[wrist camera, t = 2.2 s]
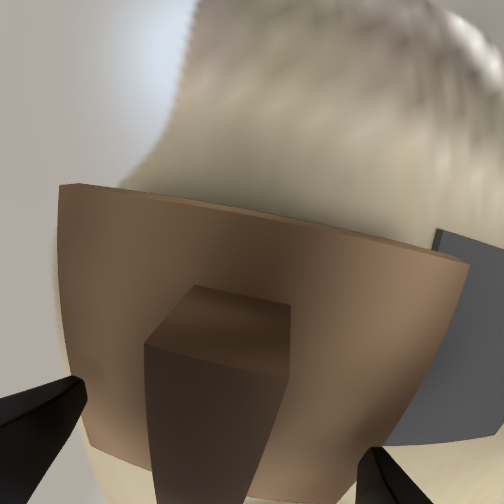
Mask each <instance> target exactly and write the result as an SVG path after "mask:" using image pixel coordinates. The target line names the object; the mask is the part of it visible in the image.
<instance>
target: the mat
mask: <svg viewBox="0 0 504 504" xmlns="http://www.w3.org/2000/svg"><path fill="white" fill-rule="evenodd" d="M432 250H433V251H437V252H441V253H444V254H448V255H452V256H455V257H457V258H458V259H460V260H462V261H464V262H465V263H467V264H469V265H470V267H469V270H468V273H467V277H466V280H465V283H464V286H463V289H462V292H461V294H460V297H459V300H458V303H457V305H456V308H455V311H454V313H453V316H452V318H451V321H450V323H449V326H448V328H447V331H446V333H445V335H444V338H443V340H442V342H441V344H440V346H439V349H438V351H437V353H436V355H435V357H434V359H433V361H432V363H431V365H430V367H429V369H428V371H427V373H426V375H425V377H424V379H423V381H422V383H421V385H420V386H419V388H418V390H417V392H416V394H415V395H414V397H413V399H412V401H411V402H410V404H409V406H408V407H407V409H406V411H405V412H404V414H403V416H402V417H401V419H400V420H399V422H398V424H397V425H396V427H395V428H394V430H393V431H392V433H391V434H390V436H389V437H388V439H387V440H386V442H385V443H384V445H383V446H404V445H423V444H436V443H446V442H454V441H462V440H469V439H475V438H481V437H487V436H492V435H495V434H496V432H497V431H498V430H499V428H500V427H501V426H502V424H503V423H504V250H502V249H499V248H497V247H494V246H491V245H488V244H485V243H482V242H479V241H476V240H473V239H470V238H466V237H463V236H460V235H457V234H454V233H450V232H447V231H444V230H440V229H437V232H436V236H435V240H434V243H433V247H432Z"/></svg>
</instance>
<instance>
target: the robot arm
mask: <svg viewBox="0 0 504 504" xmlns="http://www.w3.org/2000/svg"><path fill="white" fill-rule="evenodd" d="M87 401H88V395H87V391H86V386H85V382H84V380H83V379H81V378H79V377H77V376H75V375H71V376H68V377H65V378H63V379H59V380H57V381H54V382H50V383H47V384H44V385H41V386H38V387H36V388H32V389H29V390H26V391H23V392H20V393H16V394H13V395H10V396H6V397H3V398H0V504H27V502H28V501H29V499H30V497H31V496H32V494H33V492H34V491H35V489H36V488H37V486H38V484H39V483H40V481H41V480H42V478H43V476H44V475H45V473H46V471H47V470H48V469H49V467H50V466H51V464H52V462H53V461H54V460H55V458H56V456H57V455H58V453H59V452H60V450H61V449H62V447H63V446H64V444H65V443H66V441H67V439H68V438H69V437H70V435H71V433H72V431H73V429H74V427H75V425H76V423H77V421H78V419H79V417H80V415H81V413H82V412H83V410H84V408H85V406H86V404H87ZM355 504H433V503H432V502H431V500H430V499H429V498H428V497H427V496H426V495H425V494H424V493H423V492H422V491H421V490H420V488H419V487H418V486H417V485H416V484H415V483H414V482H413V481H412V480H411V478H410V477H409V476H408V475H407V474H406V473H405V472H404V471H403V470H402V468H401V467H400V466H399V465H398V464H397V463H396V462H395V461H394V459H393V458H392V457H391V456H390V455H389V454H388V453H387V451H386V450H385V449H384V448H383V447H370V448H368V449H367V451H366V452H365V454H364V455H363V457H362V458H361V459H360V461H359V463H358V466H357V485H356V500H355Z"/></svg>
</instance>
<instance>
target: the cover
mask: <svg viewBox="0 0 504 504" xmlns="http://www.w3.org/2000/svg"><path fill="white" fill-rule="evenodd" d="M57 252H58V278H59V292H60V304H61V313H62V322H63V329H64V336H65V343H66V349H67V355H68V360H69V366H70V371H71V375H75V376H77V377H79V378H81V379H83V380H84V382H85V386H86V391H87V395H88V401H87V404H86V406H85V408H84V410H83V412H82V413H81V416H82V420H83V423H84V426H85V430H86V433H87V436H88V439H89V442H90V445H91V446H92V447H94V448H96V449H99V450H101V451H103V452H105V453H107V454H109V455H112V456H114V457H116V458H118V459H121V460H123V461H125V462H128V463H130V464H133V465H135V466H138V467H141V468H143V469H146V470H149V471H151V472H152V474H153V481H154V488H155V494H156V500H157V504H243V502H244V500H245V498H246V496H247V497H253V498H260V499H267V500H275V501H284V502H295V503H310V504H336V503H337V502H338V501H339V500H340V499H341V498H342V496H343V495H344V494H345V493H346V492H347V491H348V490H349V488H350V487H351V486H352V485H353V484H354V483H355V481H356V480H357V466H358V463H359V461H360V459H361V458H362V457H363V455H364V454H365V452H366V451H367V449H368V448H370V447H382V446H383V445H384V443H385V442H386V440H387V439H388V437H389V436H390V434H391V433H392V431H393V430H394V428H395V427H396V425H397V424H398V422H399V420H400V419H401V417H402V416H403V414H404V412H405V411H406V409H407V407H408V406H409V404H410V402H411V401H412V399H413V397H414V395H415V394H416V392H417V390H418V388H419V386H420V385H421V383H422V381H423V379H424V377H425V375H426V373H427V371H428V369H429V367H430V365H431V363H432V361H433V359H434V357H435V355H436V353H437V351H438V349H439V346H440V344H441V342H442V340H443V338H444V335H445V333H446V331H447V328H448V326H449V323H450V321H451V318H452V316H453V313H454V311H455V308H456V305H457V303H458V300H459V297H460V294H461V292H462V289H463V286H464V283H465V280H466V277H467V273H468V270H469V267H470V265H469V264H467V263H465V262H464V261H462V260H460V259H458V258H457V257H455V256H452V255H448V254H444V253H441V252H437V251H433V250H429V249H425V248H421V247H417V246H413V245H409V244H405V243H401V242H397V241H393V240H389V239H384V238H380V237H376V236H372V235H367V234H363V233H359V232H354V231H350V230H345V229H341V228H336V227H332V226H327V225H322V224H318V223H313V222H308V221H303V220H298V219H293V218H288V217H283V216H278V215H273V214H268V213H263V212H258V211H252V210H247V209H242V208H236V207H231V206H225V205H220V204H214V203H208V202H202V201H196V200H190V199H184V198H178V197H172V196H166V195H159V194H153V193H146V192H139V191H132V190H125V189H118V188H111V187H103V186H95V185H88V184H80V183H77V184H68V185H60V186H59V200H58V226H57Z"/></svg>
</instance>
